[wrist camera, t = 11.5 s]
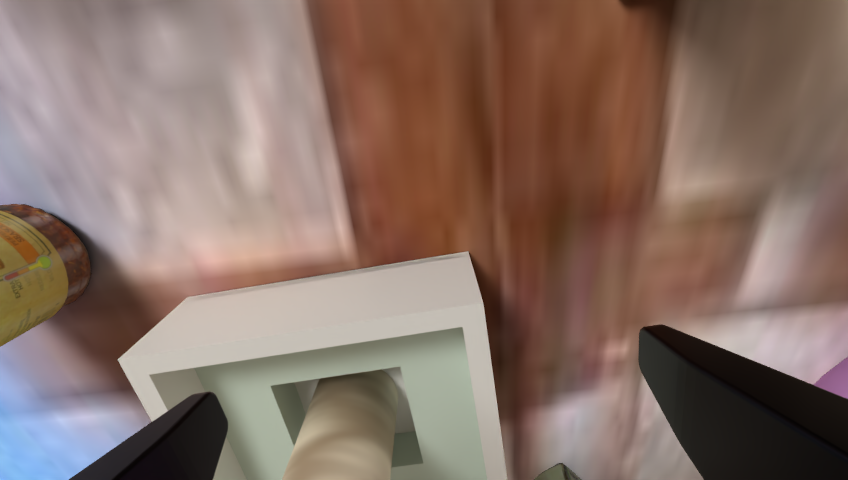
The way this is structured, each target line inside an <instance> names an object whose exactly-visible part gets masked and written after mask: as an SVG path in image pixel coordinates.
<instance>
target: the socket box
mask: <svg viewBox="0 0 848 480" xmlns="http://www.w3.org/2000/svg"><path fill="white" fill-rule="evenodd" d="M118 362H119V363H120V365H121V367H122V369H123V371H124V372H125V374H126V376H127V378H128V380H129V381H130V383H131V385H132V387H133V389H134V390H135V392H136V394H137V396H138V398H139V399H140V401H141V403H142V405H143V407H144V409H145V410H146V412H147V414H148V416H149V418H150V419H151V421H152V422H153V421H154V420H156V419H157V418H158V417H160V416H161V415H163V414H164V413H166V412H167V411H169V410H170V409H171V408H173V407H174V406H176V405H177V404H179V403H180V402H182V401H183V400H184V399H186V398H187V397H189V396H190V395H192V394H196V393H202V392H213V393H214V394H216V396H217V398H218V400H219V402H220V404H221V406H222V409H223V411H224V413H225V415H226V417H227V420H228V432H227V435H226V439H225V442H224V445H223V449H222V452H221V455H220V458H219V462H218V465H217V468H216V471H215V475H214V478H213V480H282V478H283V475H284V473H285V470H286V467H287V465H288V462H289V459H290V456H291V454H292V451H293V448H294V446H295V443H296V440H297V438H298V435H299V432H300V430H301V427H302V424H303V421H304V419H305V416H306V413H307V411H308V408H309V405H310V403H311V400H312V397H313V395H314V392H315V389H316V386H317V384H318V381H319V379H320V378H326V377H333V376H340V375H346V374H353V373H360V372H367V371H373V370H380V369H382V370H383V371H385V372H386V373H387V374H388V375H389V376H390V377H391V378H392V379H393V381H394V383H395V384H396V387H397V390H398V405H397V415H396V425H395V436H394V446H393V456H392V466H391V477H390V480H507V472H506V465H505V458H504V450H503V443H502V436H501V428H500V421H499V414H498V407H497V399H496V392H495V385H494V377H493V370H492V363H491V356H490V348H489V341H488V334H487V326H486V319H485V312H484V304H483V300H482V297H481V293H480V290H479V287H478V283H477V280H476V276H475V273H474V269H473V266H472V263H471V259H470V256H469V252H468V251H467V252H461V253H455V254H449V255H443V256H437V257H431V258H424V259H418V260H412V261H406V262H400V263H394V264H388V265H381V266H375V267H369V268H363V269H357V270H351V271H345V272H338V273H332V274H326V275H320V276H314V277H308V278H302V279H296V280H289V281H283V282H277V283H271V284H265V285H259V286H253V287H246V288H240V289H234V290H228V291H222V292H216V293H210V294H204V295H197V296H191V297H187V298H186V299H185V300H184V301H183V302H182V303H180V304H179V305H178V306H177V307H176V308H175V309H174V310H173V311H172V312H170V313H169V314H168V315H167V316H166V317H165V318H164V319H163V320H161V321H160V322H159V323H158V324H157V325H156V326H155V327H154V328H152V329H151V330H150V331H149V332H148V333H147V334H146V335H145V336H143V337H142V338H141V339H140V340H139V341H138V342H137V343H136V344H134V345H133V346H132V347H131V348H130V349H129V350H128V351H127V352H125V353H124V354H123V355H122V356H121V357H120V358H119V359H118Z"/></svg>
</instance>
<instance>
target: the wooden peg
mask: <svg viewBox="0 0 848 480" xmlns="http://www.w3.org/2000/svg"><path fill="white" fill-rule="evenodd" d="M397 405H398V390H397V387H396V384H395V383H394V381H393V379H392V378H391V377H390V376H389V375H388V374H387V373H386V372H385V371H383V370H382V369H380V370H373V371H367V372H360V373H353V374H346V375H340V376H333V377H326V378H320V379H319V381H318V384H317V386H316V389H315V392H314V395H313V397H312V400H311V403H310V405H309V408H308V411H307V413H306V416H305V419H304V421H303V424H302V427H301V430H300V432H299V435H298V438H297V440H296V443H295V446H294V448H293V451H292V454H291V456H290V459H289V462H288V465H287V467H286V470H285V473H284V475H283V478H282V480H390V477H391V466H392V456H393V446H394V436H395V425H396V415H397Z"/></svg>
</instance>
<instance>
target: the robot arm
mask: <svg viewBox="0 0 848 480" xmlns="http://www.w3.org/2000/svg"><path fill="white" fill-rule="evenodd" d="M639 366H640V369H641V372H642V374H643V376H644V378H645V379H646V381H647V383H648V385H649V387H650V389H651V391H652V393H653V394H654V396H655V398H656V400H657V402H658V404H659V406H660V407H661V409H662V411H663V413H664V415H665V417H666V419H667V420H668V422H669V424H670V426H671V428H672V430H673V432H674V433H675V435H676V437H677V439H678V440H679V442H680V444H681V445H682V447H683V448H684V450H685V452H686V453H687V455H688V456H689V458H690V459H691V461H692V462H693V464H694V465H695V467H696V468H697V470H698V471H699V473H700V474H701V476H702V477H703V479H704V480H848V399H847V398H844V397H842V396H839V395H837V394H834V393H832V392H829V391H827V390H824V389H822V388H819V387H817V386H814V385H812V384H809V383H807V382H804V381H802V380H800V379H797V378H795V377H792V376H790V375H787V374H785V373H782V372H780V371H777V370H775V369H772V368H770V367H767V366H765V365H762V364H760V363H757V362H755V361H752V360H750V359H747V358H745V357H742V356H740V355H737V354H735V353H733V352H730V351H728V350H725V349H723V348H720V347H718V346H715V345H713V344H710V343H708V342H705V341H703V340H700V339H698V338H695V337H693V336H690V335H688V334H685V333H683V332H680V331H678V330H675V329H673V328H671V327H668V326H665V325H653V326H647V327H643V328H642V329H641V330H640V333H639ZM227 432H228V420H227V417H226V415H225V413H224V411H223V409H222V406H221V404H220V402H219V400H218V398H217V396H216V394H214V393H213V392H202V393H196V394H192V395H190V396H189V397H187V398H186V399H184V400H183V401H182V402H180V403H179V404H177V405H176V406H174V407H173V408H171V409H170V410H169V411H167V412H166V413H164V414H163V415H161V416H160V417H158V418H157V419H156V420H154V421H153V422H151V423H150V424H148V425H147V426H145V427H144V428H143V429H141V430H140V431H138V432H137V433H135V434H134V435H133V436H131V437H130V438H128V439H127V440H125V441H124V442H122V443H121V444H120V445H118V446H117V447H115V448H114V449H112V450H111V451H109V452H108V453H107V454H105V455H104V456H102V457H101V458H99V459H98V460H96V461H95V462H94V463H92V464H91V465H89V466H88V467H86V468H85V469H84V470H82V471H81V472H79V473H78V474H76V475H75V476H73V477H72V478H71V479H69V480H213V478H214V475H215V471H216V468H217V465H218V462H219V458H220V455H221V452H222V449H223V445H224V442H225V439H226V435H227Z"/></svg>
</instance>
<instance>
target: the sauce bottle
mask: <svg viewBox="0 0 848 480" xmlns="http://www.w3.org/2000/svg"><path fill="white" fill-rule="evenodd" d="M90 276H91V272H90V261H89V256H88V253H87V250H86V248H85V246H84V244H83V243H82V242H81V241H80V238H78V237H77V236H76V235H75V234H74V232H73V231H72V230H71V229H70V228H69V227H67V226H66V225H65V224H64V223H62V222H61V221H60V220H59V219H57V218H56V217H54V216H52V215H50V214H49V213H46V212H44V211H43V210H42V209H38V208H33V207H32V206H29V205H25V204H21V205H18V204H11V205H0V346H2V345H4V344H6V343H7V342H9V341H11V340H13V339H14V338H16V337H18V336H19V335H21V334H23V333H25V332H26V331H28V330H30V329H31V328H33V327H35V326H37V325H39V324H40V323H42V322H44V321H46V320H47V319H49V318H51V317H52V316H54V315H55V314H56V313H57V312H58V311H59V310H60V308H61V307H63V306H64V305H67V304H69V303H71V302H73V301H75V300H76V299H77V298H78V297H79V296H80V295H82V293H83V292H84V290H85V288H86V287H87V286H88V284H89V279H90Z"/></svg>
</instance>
